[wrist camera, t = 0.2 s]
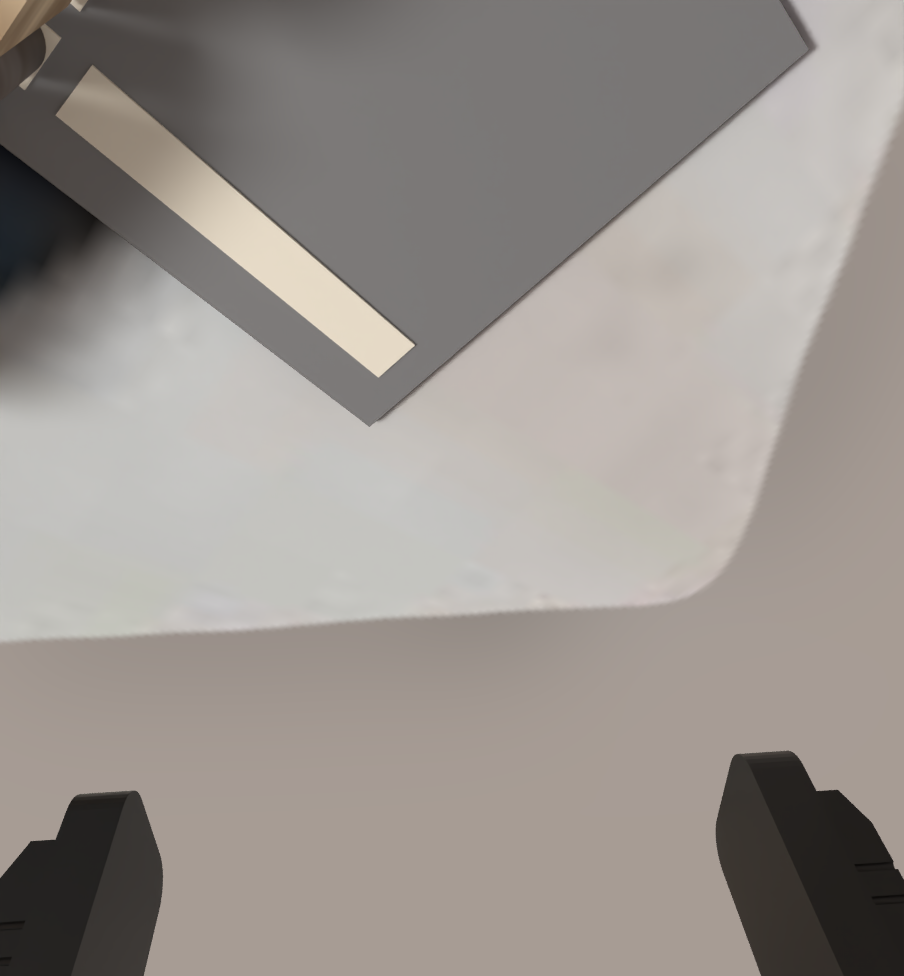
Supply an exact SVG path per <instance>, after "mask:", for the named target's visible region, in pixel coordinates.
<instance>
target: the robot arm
mask: <svg viewBox="0 0 904 976" xmlns="http://www.w3.org/2000/svg"><path fill="white" fill-rule="evenodd" d="M716 843H717V850H718V856H719V860H720V864H721V867H722V870H723V873H724V876H725V879H726V881H727V884H728V887H729V889H730V892H731V895H732V898H733V900H734V903H735V905H736V908H737V911H738V914H739V916H740V919H741V922H742V925H743V928H744V930H745V933H746V936H747V938H748V941H749V944H750V947H751V949H752V952H753V955H754V957H755V960H756V962H757V966H758V968H759V971H760V974H761V976H904V879H903V878H902V876H901V874H900V872H899V870H898V869H895V868H894V865H893V860H892V858H891V856H890V854H889V853H888V851H887V849H886V847H885V845H884V844H883V842H882V840H881V838H880V836H879V835H878V833H877V831H876V829H875V828H874V826H873V824H872V822H871V821H870V820H869V819H867V818H866V817H865V816H864V815H863V814H862V813H861V812H860V811H859V810H858V809H857V808H856V807H855V806H854V805H853V804H852V803H851V802H850V801H849V800H848V799H847V798H846V797H845V796H844V795H842V793H840V792H839V791H838V790H829V791H816V789H815V788H814V786H813V784H812V782H811V780H810V778H809V776H808V774H807V772H806V770H805V768H804V766H803V764H802V763H801V761H800V759H799V758H798V757H797V756H796V755H795V754H794V753H793V752H791V751H779V752H762V753H749V754H748V753H747V754H736V755H735V756H734V757H733V758H732V761H731V765H730V768H729V772H728V777H727V780H726V784H725V788H724V792H723V796H722V801H721V805H720V809H719V813H718V817H717V821H716ZM162 886H163V870H162V861H161V857H160V853H159V850H158V847H157V844H156V841H155V838H154V835H153V832H152V829H151V826H150V823H149V820H148V817H147V814H146V811H145V808H144V805H143V802H142V799H141V797H140V795H139V793H138V792H137V791H122V792H106V793H92V794H91V793H90V794H79V795H77V796H75V797H74V798H73V800H72V801H71V803H70V804H69V806H68V808H67V811H66V813H65V816H64V819H63V822H62V824H61V827H60V830H59V832H58V835H57V838H56V840H44V841H31V842H30V843H29V844H28V846H27V847H26V848H25V849H24V850H23V852H22V853H21V854H20V855H19V857H18V858H17V859H16V860H15V861H14V862H13V864H12V865H11V866H10V867H9V868H8V870H7V871H6V872H5V873H4V874H3V876H2V877H1V878H0V976H144V972H145V967H146V963H147V959H148V955H149V951H150V946H151V942H152V938H153V933H154V929H155V925H156V921H157V917H158V912H159V908H160V903H161V897H162Z"/></svg>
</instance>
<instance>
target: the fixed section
mask: <svg viewBox="0 0 904 976" xmlns="http://www.w3.org/2000/svg"><path fill="white" fill-rule="evenodd" d="M71 1H72V0H0V101H1V100H2V99H3V98H5V97H6V96H7V95H8V94H9V93H10V92H12V91H13V90H14V89H15V88H16V87H17V86H19V85H20V84H21V83H22V82H23V81H24V80H25V79H27V78H28V77H29V76H30V75H31V74H32V73H34V72H35V71H36V70H37V69H38V68H39V67H40V66H41V65H42V63H43V61H44V58H45V54H46V42H45V38H44V34H43V32H42V30H41V28H40V27H41V26H42V25H44V24H45V23H46V22H48V21H49V20H50V19H52V18H53V17H54V16H56V15H57V14H59V13H60V12H61V11H63V10H64V9H65V8H67V7H68V5H69V4H70V3H71Z"/></svg>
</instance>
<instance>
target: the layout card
mask: <svg viewBox="0 0 904 976" xmlns="http://www.w3.org/2000/svg"><path fill="white" fill-rule="evenodd" d="M40 28H41V30H42V32H43V34H44V38H45V42H46V54H45V58H44V61H43V63H42V65H41V66H40V67H39V68H38V69H37V70H36V71H35V72H34V73H32V74H31V75H30V76H29V77H28V78H27V79H25V80H24V81H23V82H22V83H21V84H20V85H19V86H17V87H16V88H15V89H14V90H13V91H12V92H10V93H9V94H8V95H7V96H6V97H5V98H3V99H2V100H1V101H0V144H1V145H2V146H3V147H5V148H6V149H7V150H9V151H10V152H11V153H13V154H14V155H15V156H17V157H18V158H19V159H20V160H22V161H23V162H24V163H26V164H27V165H28V166H30V167H31V168H32V169H34V170H35V171H36V172H37V173H39V174H40V175H41V176H43V177H44V178H45V179H47V180H48V181H49V182H50V183H52V184H53V185H54V186H56V187H57V188H58V189H60V190H61V191H62V192H64V193H65V194H66V195H67V196H69V197H70V198H71V199H73V200H74V201H75V202H77V203H78V204H79V205H81V206H82V207H83V208H84V209H86V210H87V211H88V212H90V213H91V214H92V215H94V216H95V217H96V218H97V219H99V220H100V221H101V222H103V223H104V224H105V225H107V226H108V227H109V228H111V229H112V230H113V231H114V232H116V233H117V234H118V235H120V236H121V237H122V238H124V239H125V240H126V241H128V242H129V243H130V244H131V245H133V246H134V247H135V248H137V249H138V250H139V251H141V252H142V253H143V254H145V255H146V256H147V257H148V258H150V259H151V260H152V261H154V262H155V263H156V264H158V265H159V266H160V267H161V268H163V269H164V270H165V271H167V272H168V273H169V274H171V275H172V276H173V277H175V278H176V279H177V280H178V281H180V282H181V283H182V284H184V285H185V286H186V287H188V288H189V289H190V290H192V291H193V292H194V293H195V294H197V295H198V296H199V297H201V298H202V299H203V300H205V301H206V302H207V303H208V304H210V305H211V306H212V307H214V308H215V309H216V310H218V311H219V312H220V313H222V314H223V315H224V316H225V317H227V318H228V319H229V320H231V321H232V322H233V323H235V324H236V325H237V326H239V327H240V328H241V329H242V330H244V331H245V332H246V333H248V334H249V335H250V336H252V337H253V338H254V339H256V340H257V341H258V342H259V343H261V344H262V345H263V346H265V347H266V348H267V349H269V350H270V351H271V352H272V353H274V354H275V355H276V356H278V357H279V358H280V359H282V360H283V361H284V362H286V363H287V364H288V365H289V366H291V367H292V368H293V369H295V370H296V371H297V372H299V373H300V374H301V375H303V376H304V377H305V378H306V379H308V380H309V381H310V382H312V383H313V384H314V385H316V386H317V387H318V388H319V389H321V390H322V391H323V392H325V393H326V394H327V395H329V396H330V397H331V398H333V399H334V400H335V401H336V402H338V403H339V404H340V405H342V406H343V407H344V408H346V409H347V410H348V411H350V412H351V413H352V414H353V415H355V416H356V417H357V418H359V419H360V420H361V421H363V422H364V423H365V424H366V425H368V426H369V427H370V426H371V425H372V424H373V423H375V422H376V421H377V420H378V419H379V418H380V417H382V416H383V415H384V414H385V413H386V412H387V411H389V410H390V409H391V408H392V407H393V406H394V405H396V404H397V403H398V402H399V401H400V400H401V399H403V398H404V397H405V396H406V395H407V394H408V393H410V392H411V391H412V390H413V389H414V388H415V387H417V386H418V385H419V384H420V383H421V382H422V381H423V380H425V379H426V378H427V377H428V376H429V375H430V374H432V373H433V372H434V371H435V370H436V369H437V368H439V367H440V366H441V365H442V364H443V363H444V362H446V361H447V360H448V359H449V358H450V357H451V356H453V355H454V354H455V353H456V352H457V351H458V350H460V349H461V348H462V347H463V346H464V345H465V344H467V343H468V342H469V341H470V340H471V339H472V338H474V337H475V336H476V335H477V334H478V333H479V332H481V331H482V330H483V329H484V328H485V327H486V326H488V325H489V324H490V323H491V322H492V321H493V320H495V319H496V318H497V317H498V316H499V315H500V314H502V313H503V312H504V311H505V310H506V309H507V308H509V307H510V306H511V305H512V304H513V303H514V302H516V301H517V300H518V299H519V298H520V297H521V296H523V295H524V294H525V293H526V292H527V291H528V290H530V289H531V288H532V287H533V286H534V285H535V284H537V283H538V282H539V281H540V280H541V279H542V278H544V277H545V276H546V275H547V274H548V273H549V272H551V271H552V270H553V269H554V268H555V267H556V266H558V265H559V264H560V263H561V262H562V261H563V260H565V259H566V258H567V257H568V256H569V255H570V254H572V253H573V252H574V251H575V250H576V249H577V248H579V247H580V246H581V245H582V244H583V243H584V242H586V241H587V240H588V239H589V238H590V237H591V236H592V235H594V234H595V233H596V232H597V231H598V230H599V229H601V228H602V227H603V226H604V225H605V224H606V223H608V222H609V221H610V220H611V219H612V218H613V217H615V216H616V215H617V214H618V213H619V212H620V211H622V210H623V209H624V208H625V207H626V206H627V205H629V204H630V203H631V202H632V201H633V200H634V199H636V198H637V197H638V196H639V195H640V194H641V193H643V192H644V191H645V190H646V189H647V188H648V187H650V186H651V185H652V184H653V183H654V182H655V181H657V180H658V179H659V178H660V177H661V176H662V175H664V174H665V173H666V172H667V171H668V170H669V169H671V168H672V167H673V166H674V165H675V164H676V163H678V162H679V161H680V160H681V159H682V158H683V157H685V156H686V155H687V154H688V153H689V152H690V151H692V150H693V149H694V148H695V147H696V146H697V145H699V144H700V143H701V142H702V141H703V140H704V139H706V138H707V137H708V136H709V135H710V134H711V133H713V132H714V131H715V130H716V129H717V128H718V127H720V126H721V125H722V124H723V123H724V122H725V121H727V120H728V119H729V118H730V117H731V116H732V115H734V114H735V113H736V112H737V111H738V110H739V109H741V108H742V107H743V106H744V105H745V104H746V103H748V102H749V101H750V100H751V99H752V98H753V97H755V96H756V95H757V94H758V93H759V92H760V91H762V90H763V89H764V88H765V87H766V86H767V85H768V84H770V83H771V82H772V81H773V80H774V79H775V78H777V77H778V76H779V75H780V74H781V73H782V72H784V71H785V70H786V69H787V68H788V67H789V66H791V65H792V64H793V63H794V62H795V61H796V60H798V59H799V58H800V57H801V56H802V55H803V54H805V53H806V52H807V51H808V50H809V49H808V47H807V46H806V44H805V42H804V41H803V39H802V37H801V36H800V34H799V32H798V30H797V29H796V27H795V25H794V24H793V22H792V20H791V19H790V17H789V15H788V14H787V12H786V10H785V8H784V7H783V5H782V3H781V2H780V0H72V1H71V3H70V4H69V5H68V7H67V8H65V9H64V10H63V11H61V12H60V13H59V14H57V15H56V16H54V17H53V18H52V19H50V20H49V21H48V22H46V23H45V24H44V25H42V26H41V27H40Z"/></svg>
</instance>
